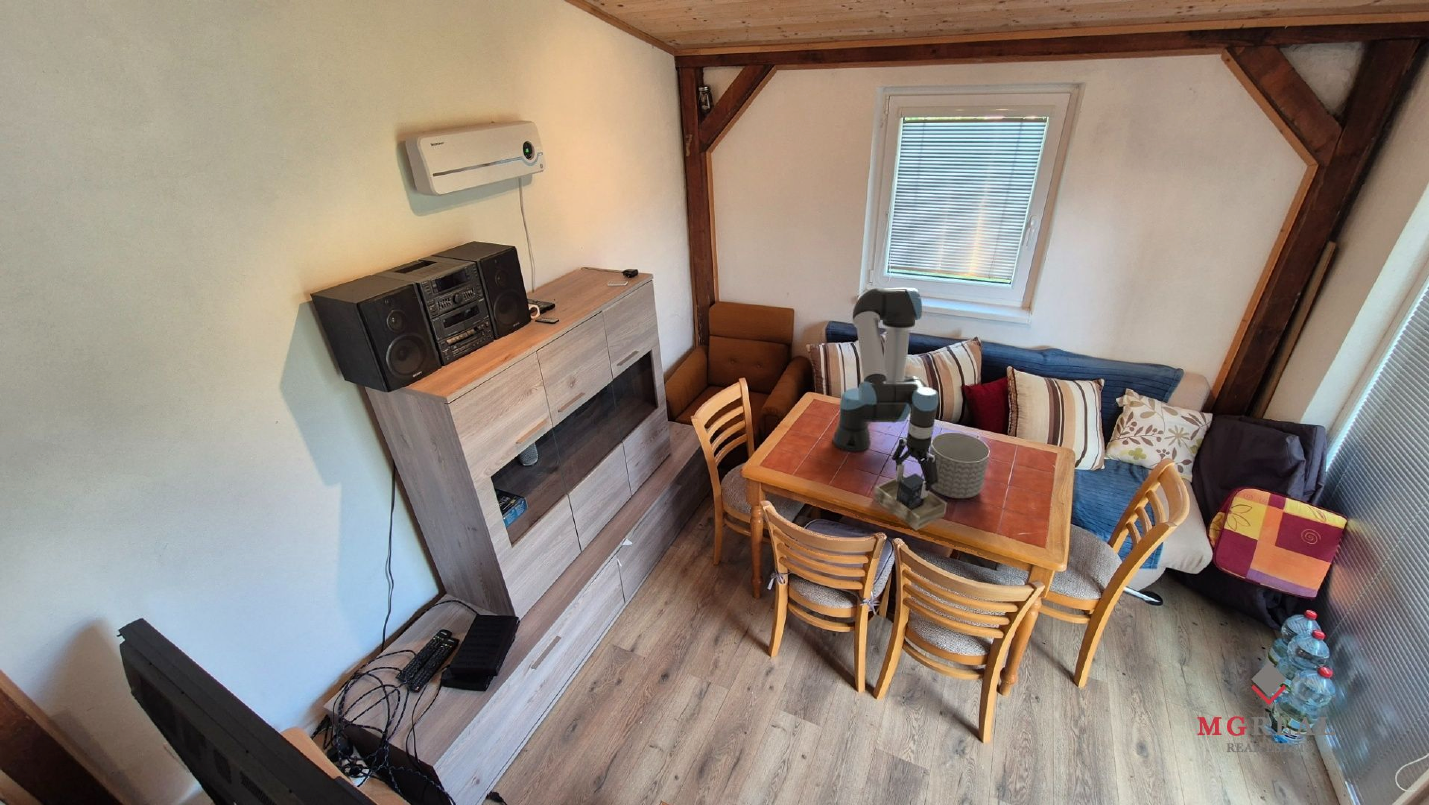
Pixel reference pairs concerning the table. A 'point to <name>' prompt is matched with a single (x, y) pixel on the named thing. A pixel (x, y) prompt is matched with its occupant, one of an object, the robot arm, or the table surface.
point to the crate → (914, 518)
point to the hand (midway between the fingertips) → (911, 488)
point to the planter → (959, 464)
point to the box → (910, 491)
